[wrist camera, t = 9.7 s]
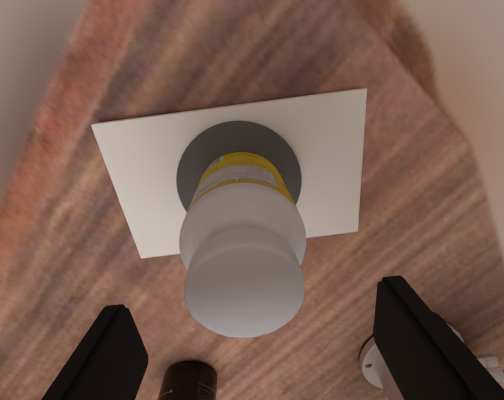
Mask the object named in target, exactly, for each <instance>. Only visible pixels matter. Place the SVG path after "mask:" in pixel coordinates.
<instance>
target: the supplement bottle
mask: <svg viewBox="0 0 504 400" xmlns="http://www.w3.org/2000/svg"><path fill="white" fill-rule="evenodd" d="M216 391H217V377H216V374H215V373H214V371H213V370H212V369H211V368H210V367H208V366H206V365H204V364H201V363H197V362H183V363H179V364H176V365H174V366H173V367H171V368H170V369H169V370H168V371H167V372H166V374H165V376H164V379H163V382H162V386H161V389H160V393H159V397H158V400H216Z"/></svg>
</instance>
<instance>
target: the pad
mask: <svg viewBox="0 0 504 400" xmlns="http://www.w3.org/2000/svg"><path fill="white" fill-rule="evenodd" d="M235 150H248V151H253V152H256V153H258V154H260V155H262V156H264V157H266V158H267V159H268V160H270V161H271V162H272V163H273V164H274V166H275V167H276V168H277V170H278V171H279V173H280V175H281V177H282V179H283V181H284V183H285V185H286V187H287V189H288V191H289V193H290V195H291V197H292V199H293V201H294V203H295V205H296V204H297V201H298V199H299V196H300V192H301V185H302V177H301V169H300V165H299V162H298V160H297V157H296V155H295V153H294V152H293V150H292V148H291V147H290V146H289V144H288V143H287V142H286V141H285V140H284V139H283V138H282V137H281V136H280V135H279V134H277V133H276V132H274V131H273V130H271V129H269V128H268V127H266V126H263V125H260V124H258V123H254V122H249V121H229V122H224V123H220V124H217V125H214V126H212V127H210V128H208V129H206V130H204V131H203V132H202V133H200V134H199V135H198V136H197V137H196V138H194V139H193V140H192V141H191V143H190V144H189V145H188V146H187V148H186V149H185V151H184V153H183V154H182V156H181V159H180V161H179V165H178V169H177V176H176V184H177V191H178V195H179V198H180V201H181V203H182V205H183V207H184V209H185V210H186V212H187V211H188V209H189V206H190V204H191V202H192V199H193V197H194V195H195V193H196V190H197V188H198V185H199V183H200V180H201V178H202V175H203V173H204V171H205V170H206V168H207V167H208V166H209V164H210V163H211V162H212V161H213V160H215V159H216V158H217V157H219V156H220V155H222V154H225V153H227V152H230V151H235Z"/></svg>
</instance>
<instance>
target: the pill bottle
mask: <svg viewBox="0 0 504 400" xmlns="http://www.w3.org/2000/svg"><path fill="white" fill-rule="evenodd" d="M179 249H180V255H181V258H182V261H183V264H184V266H185V268H186V269H187V271H188V273H187V277H186V282H185V287H184V296H185V302H186V305H187V307H188V310H189V312H190V313H191V315H192V316H193V317H194V318H195V320H197V321H198V322H199V323H200V324H201V325H203V326H204V327H205V328H207V329H209V330H211V331H213V332H215V333H218V334H221V335H224V336H229V337H237V338H248V337H257V336H261V335H265V334H268V333H271V332H273V331H275V330H277V329H279V328H281V327H282V326H284V325H285V324H287V323H288V322H289V321H290V320H291V319H292V318H293V317H294V316H295V315H296V313H297V312H298V311H299V309H300V307H301V305H302V303H303V300H304V295H305V282H304V277H303V274H302V271H301V268H300V265H301V263H302V261H303V258H304V255H305V250H306V230H305V226H304V223H303V220H302V218H301V215H300V213H299V211H298V209H297V207H296V205H295V203H294V201H293V199H292V197H291V195H290V193H289V191H288V189H287V187H286V185H285V183H284V181H283V179H282V177H281V175H280V173H279V171H278V170H277V168H276V167H275V166H274V164H273V163H272V162H271V161H270V160H268V159H267V158H266V157H264V156H262V155H260V154H258V153H256V152H253V151H248V150H235V151H230V152H227V153H225V154H222V155H220V156H219V157H217V158H216V159H215V160H213V161H212V162H211V163H210V164H209V166H208V167H207V168H206V170H205V171H204V173H203V175H202V178H201V180H200V183H199V185H198V188H197V190H196V193H195V195H194V197H193V199H192V202H191V204H190V206H189V209H188V211H187V213H186V216H185V218H184V221H183V224H182V227H181V230H180V236H179Z"/></svg>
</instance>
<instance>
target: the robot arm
mask: <svg viewBox="0 0 504 400" xmlns="http://www.w3.org/2000/svg"><path fill="white" fill-rule="evenodd" d="M359 364H360V368H361V370H362V373H363V375H364V377H365V378H366V380H367V381H368V382H370V383H371V384H372V385H374V386H376V387H379V388H382V389H384V391H385V393H386V395H387V397H388V399H389V400H504V389H503V388H502V387H501V386H500V385H499V383H502V382H504V372H503V371H502V369H501V368H500V367H499V362H498V360H497V358H496V357H495V356H494V355H493V354H490V353H489V354H480V355H477V356H474V354H473V353H472V352H471V351H470V350H469V349H468V348H467V346H466V345H465V344H464V340H463V338H462V337H461V335H460V334H459V333H458V332H457V331H456V329H455V328H454V327H453V326H451V325H450V324H448V323H446V322H445V321H444V320H443V319H442V318H441V317H440V316H439V315H438V314H436V313H435V312H432V311H431V310H430V309H429V308H428V307H427V305H426V304H425V303H424V302H423V301H422V299H421V298H420V297H419V296H418V295H417V293H416V292H415V291H414V290H413V289H412V288H411V286H410V285H409V284H408V283H407V282H406V280H405V279H404V278H403V277H402V276H400V275H399V276H390V277H383V278H382V282H378V285H377V296H376V307H375V318H374V329H373V337H372V338H371V339H370V340H369V341H368V342H367V343H366V345H365V346H364V348H363V349H362V352H361V354H360V358H359ZM147 365H148V354H147V351H146V349H145V347H144V344H143V342H142V339H141V337H140V334H139V332H138V330H137V327H136V325H135V322H134V320H133V317H132V315H131V313H130V310H129V309H128V308H125V306H124V305H123V304H119V305H110V306H106V307H104V308H103V310H102V311H101V313H100V314H99V315H98V317H97V318H96V320H95V321H94V323H93V324H92V326H91V327H90V329H89V330H88V332H87V333H86V335H85V336H84V338H83V339H82V340H81V342H80V343H79V345H78V346H77V348H76V349H75V351H74V352H73V354H72V355H71V357H70V358H69V360H68V361H67V363H66V364H65V365H64V367H63V368H62V370H61V371H60V373H59V374H58V376H57V377H56V379H55V380H54V382H53V383H52V385H51V386H50V388H49V389H48V390H47V392H46V393H45V395H44V396H43V398H42V399H41V400H135V398H136V395H137V392H138V390H139V387H140V384H141V382H142V379H143V376H144V374H145V371H146V368H147Z"/></svg>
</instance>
